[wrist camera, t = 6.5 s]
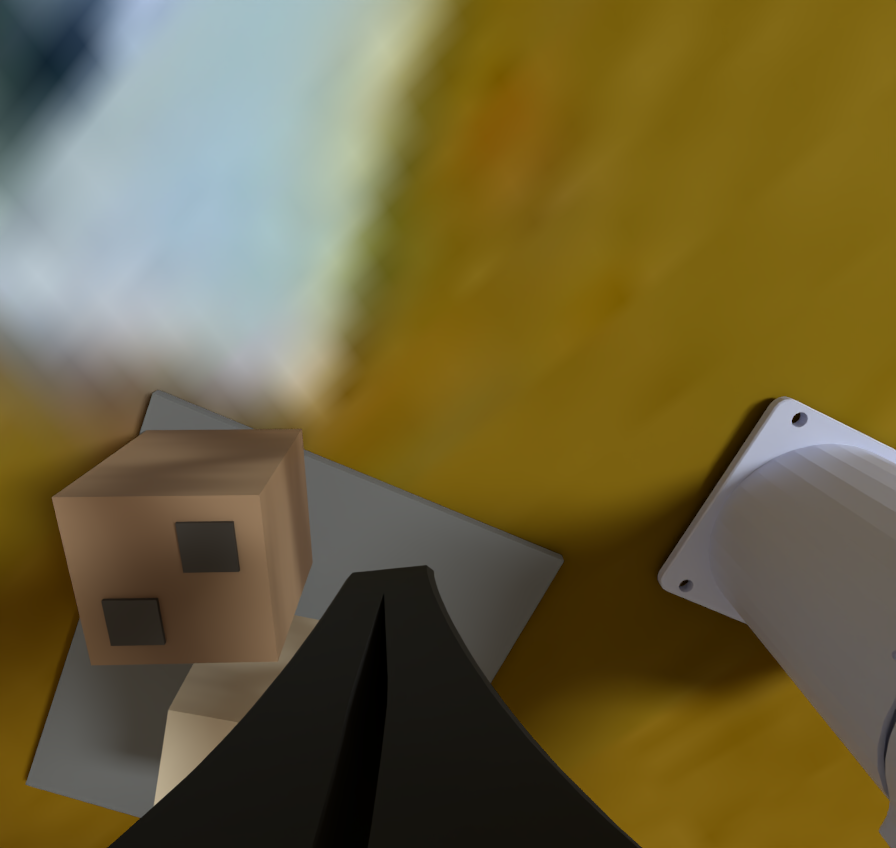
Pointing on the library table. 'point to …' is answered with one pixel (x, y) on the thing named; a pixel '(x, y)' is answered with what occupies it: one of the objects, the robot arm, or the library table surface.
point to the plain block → (216, 706)
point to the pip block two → (189, 546)
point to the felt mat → (334, 559)
